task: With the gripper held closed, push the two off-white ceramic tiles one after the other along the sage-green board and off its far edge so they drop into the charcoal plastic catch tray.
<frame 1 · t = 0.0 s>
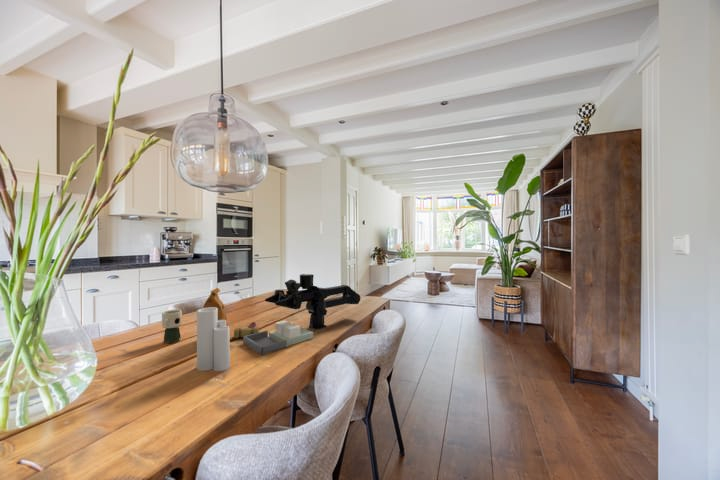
hand: (270, 301, 128), 17 cm above the table, tool horizontal, fingers open, 9 cm apart
vase: (214, 367, 102), on the table
catch tray: (264, 345, 121), on the table
character mug: (172, 342, 126), on the table
tile b: (292, 335, 126), point 2 cm above the table, touching board
board: (291, 337, 130), on the table
coffee package: (214, 339, 128), on the table
tile a: (283, 331, 131), point 2 cm above the table, touching board
gavel: (250, 332, 140), on the table
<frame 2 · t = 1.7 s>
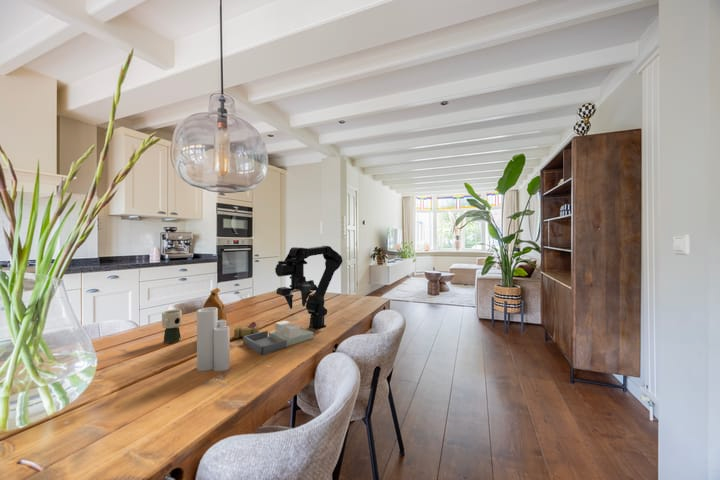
hand: (297, 307, 136), 12 cm above the table, tool pointing down, fingers open, 6 cm apart
nothing on the table moved.
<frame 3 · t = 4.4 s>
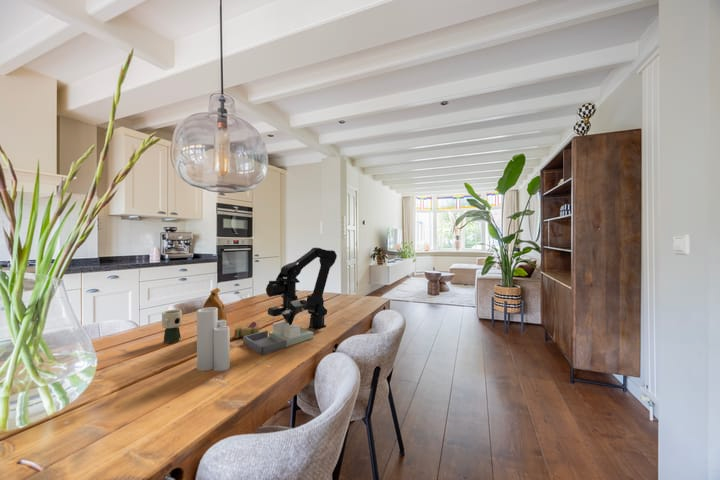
hand: (289, 327, 134), 4 cm above the table, tool pointing down, fingers closed
tile a: (281, 332, 131), point 3 cm above the table, touching board, gripper
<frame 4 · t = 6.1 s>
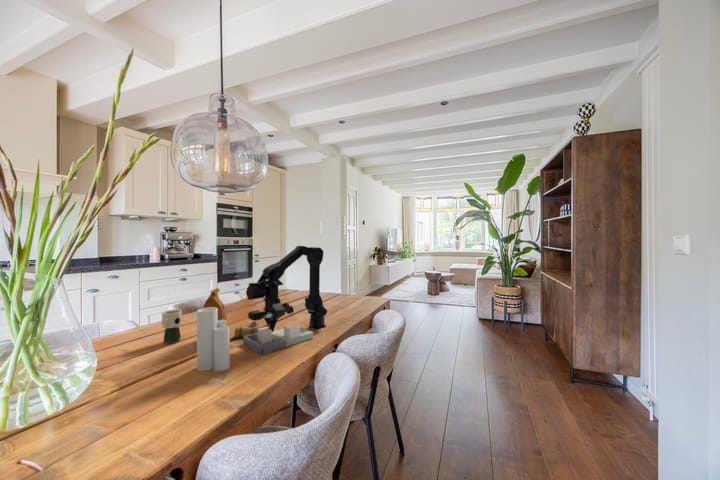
hand: (271, 331, 127), 4 cm above the table, tool pointing down, fingers closed
tile a: (268, 333, 127), point 3 cm above the table, tilted 90°, touching catch tray, gripper
everything else where it was.
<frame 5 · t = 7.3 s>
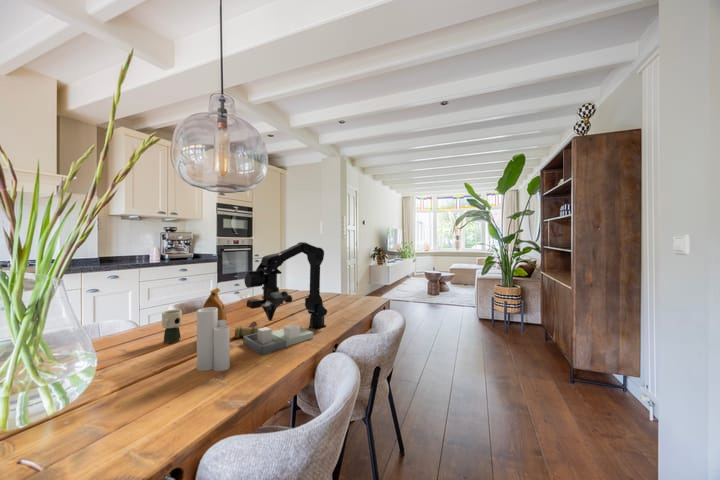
hand: (270, 320, 127), 9 cm above the table, tool pointing down, fingers closed
tile a: (268, 333, 127), point 3 cm above the table, tilted 90°, touching catch tray
everything else where it was.
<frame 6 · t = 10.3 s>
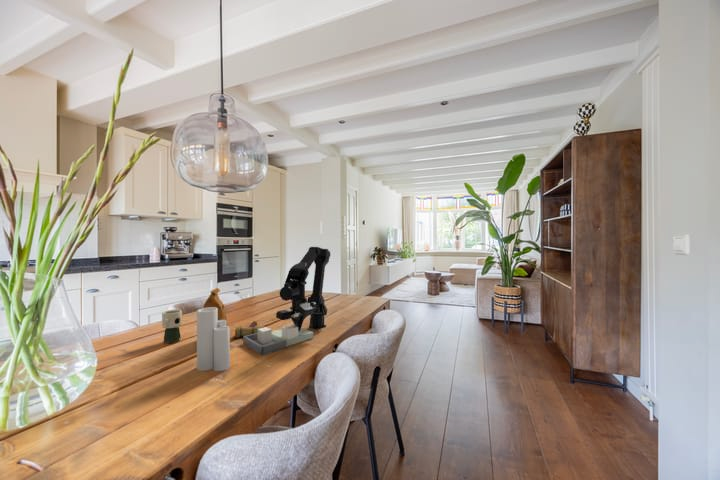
hand: (298, 331, 128), 4 cm above the table, tool pointing down, fingers closed
tile b: (290, 336, 125), point 3 cm above the table, touching gripper
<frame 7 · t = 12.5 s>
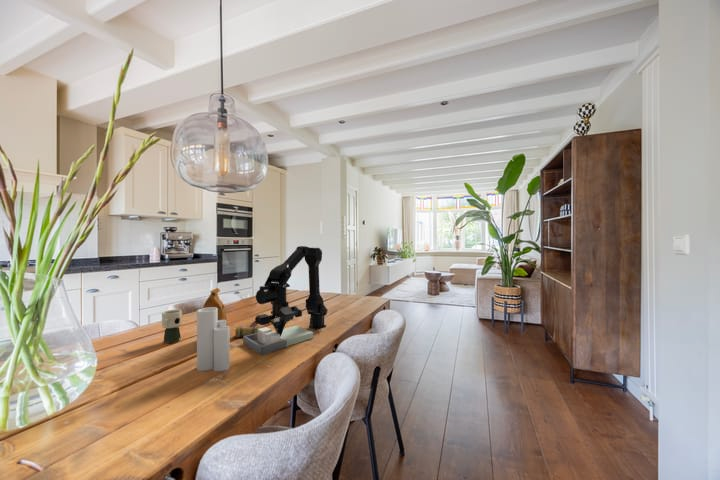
hand: (279, 336, 122), 4 cm above the table, tool pointing down, fingers closed
tile b: (276, 338, 121), point 3 cm above the table, tilted 90°, touching catch tray, gripper
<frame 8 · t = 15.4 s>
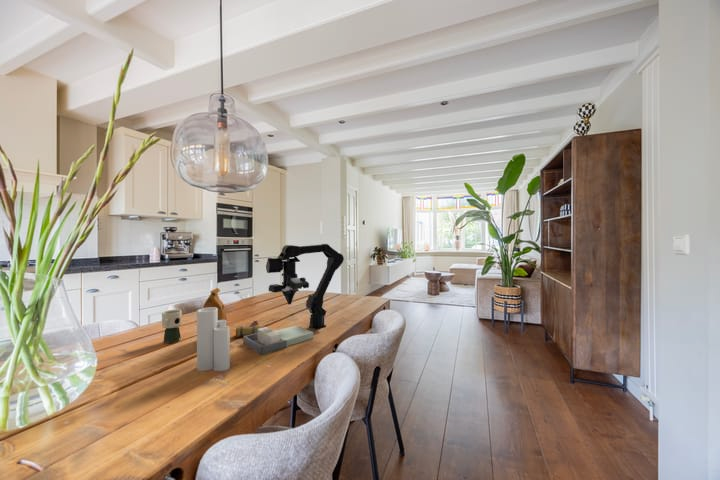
hand: (289, 304, 139), 13 cm above the table, tool pointing down, fingers closed
tile b: (276, 338, 121), point 3 cm above the table, tilted 90°, touching catch tray
at the end: tile a inside the target area (5.6 cm from its centre), point 3.0 cm above the table; tile b inside the target area (5.6 cm from its centre), point 3.0 cm above the table; tile b touching catch tray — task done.
